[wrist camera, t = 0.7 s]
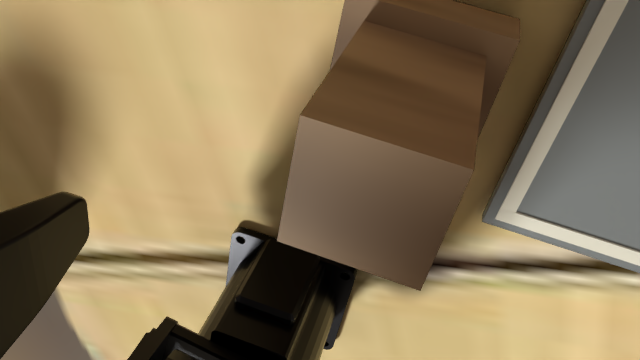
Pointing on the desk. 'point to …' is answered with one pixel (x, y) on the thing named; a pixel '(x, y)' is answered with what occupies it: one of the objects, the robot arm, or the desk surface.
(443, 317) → the desk surface
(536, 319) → the desk surface
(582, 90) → the marked board
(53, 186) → the desk surface
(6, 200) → the desk surface
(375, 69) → the stamp
